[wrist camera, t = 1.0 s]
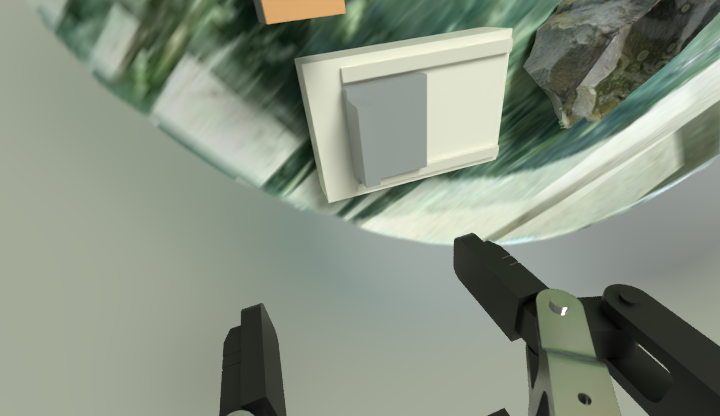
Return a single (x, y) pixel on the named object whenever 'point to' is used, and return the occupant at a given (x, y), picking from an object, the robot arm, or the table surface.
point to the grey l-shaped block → (387, 126)
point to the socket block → (444, 101)
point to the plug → (296, 9)
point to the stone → (609, 50)
